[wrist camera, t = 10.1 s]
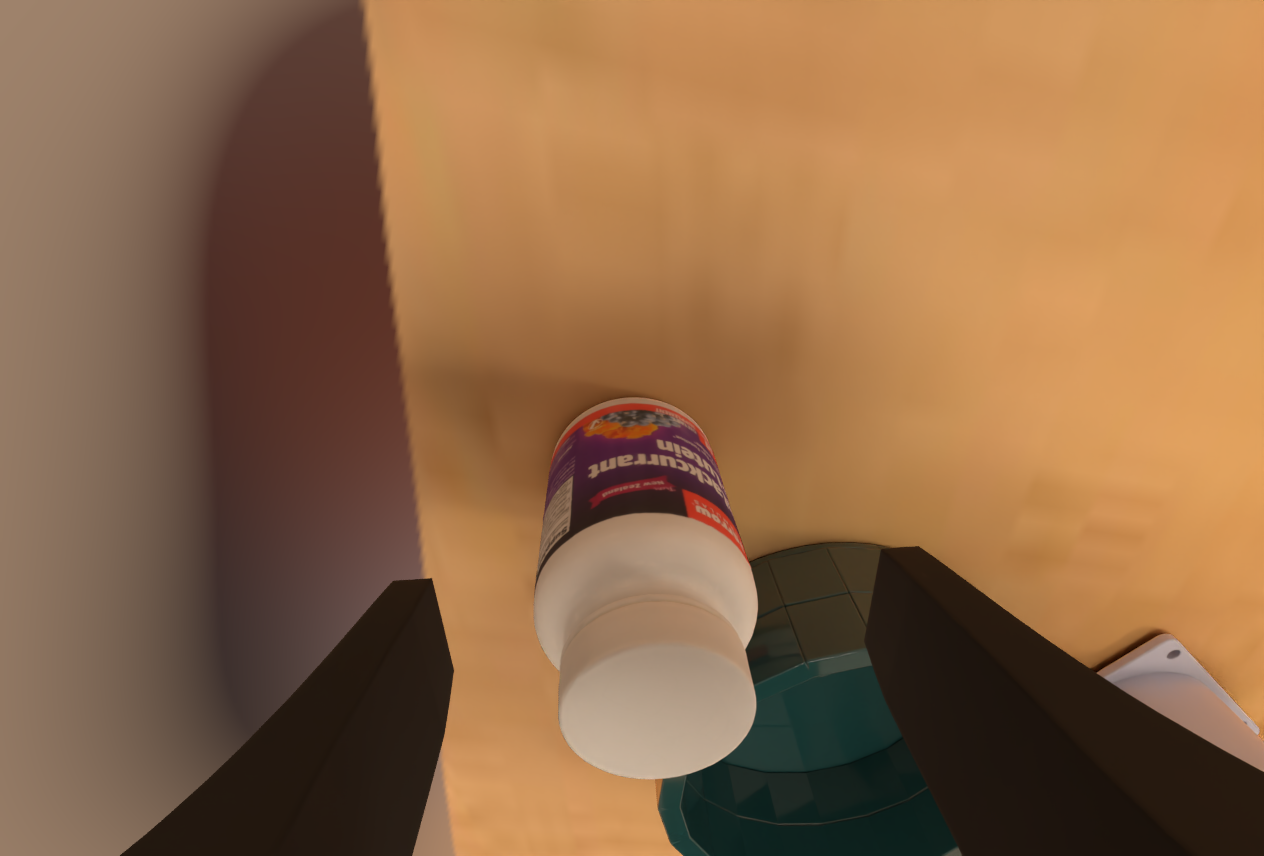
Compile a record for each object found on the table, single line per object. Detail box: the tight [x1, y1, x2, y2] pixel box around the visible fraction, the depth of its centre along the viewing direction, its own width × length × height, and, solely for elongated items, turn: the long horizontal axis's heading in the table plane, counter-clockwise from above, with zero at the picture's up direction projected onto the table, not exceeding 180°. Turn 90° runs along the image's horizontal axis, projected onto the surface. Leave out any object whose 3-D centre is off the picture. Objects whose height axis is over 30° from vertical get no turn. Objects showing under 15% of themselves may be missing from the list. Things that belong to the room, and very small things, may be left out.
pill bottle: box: [534, 397, 758, 779], centre depth 17 cm, size 5×5×10 cm
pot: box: [655, 543, 962, 856], centre depth 24 cm, size 14×14×5 cm
